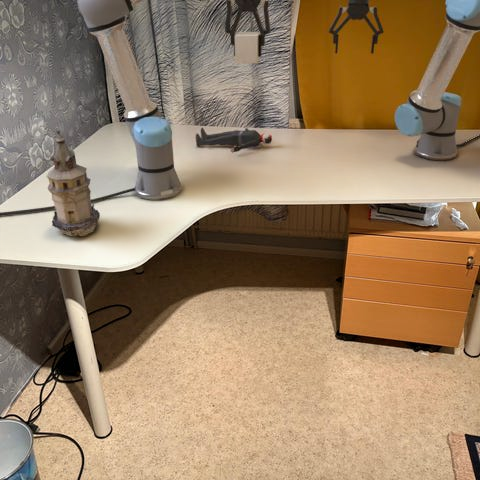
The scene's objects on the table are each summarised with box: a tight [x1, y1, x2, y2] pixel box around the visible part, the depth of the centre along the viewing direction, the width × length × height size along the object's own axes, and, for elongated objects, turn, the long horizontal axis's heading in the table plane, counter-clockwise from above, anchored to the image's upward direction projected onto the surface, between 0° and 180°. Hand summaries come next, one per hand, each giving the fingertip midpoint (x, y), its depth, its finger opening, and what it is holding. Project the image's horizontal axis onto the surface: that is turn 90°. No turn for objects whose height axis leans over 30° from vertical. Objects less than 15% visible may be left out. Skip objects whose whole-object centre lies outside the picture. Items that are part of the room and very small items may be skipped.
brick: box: [234, 31, 261, 64], centre depth 178 cm, size 7×8×9 cm
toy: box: [195, 127, 273, 154], centre depth 215 cm, size 26×6×30 cm
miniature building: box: [46, 129, 101, 237], centre depth 148 cm, size 13×14×30 cm
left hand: (247, 55), depth 179 cm, fingers closed on brick, 7 cm apart
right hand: (354, 52), depth 207 cm, fingers open, 13 cm apart
